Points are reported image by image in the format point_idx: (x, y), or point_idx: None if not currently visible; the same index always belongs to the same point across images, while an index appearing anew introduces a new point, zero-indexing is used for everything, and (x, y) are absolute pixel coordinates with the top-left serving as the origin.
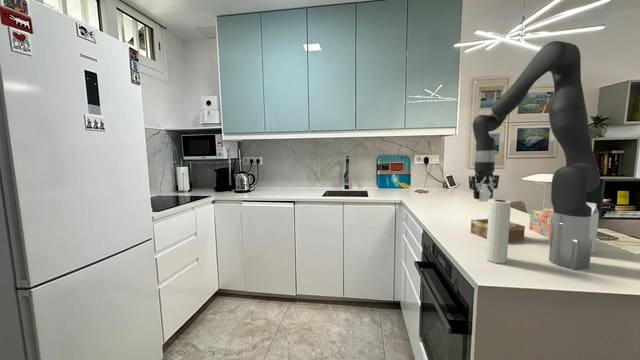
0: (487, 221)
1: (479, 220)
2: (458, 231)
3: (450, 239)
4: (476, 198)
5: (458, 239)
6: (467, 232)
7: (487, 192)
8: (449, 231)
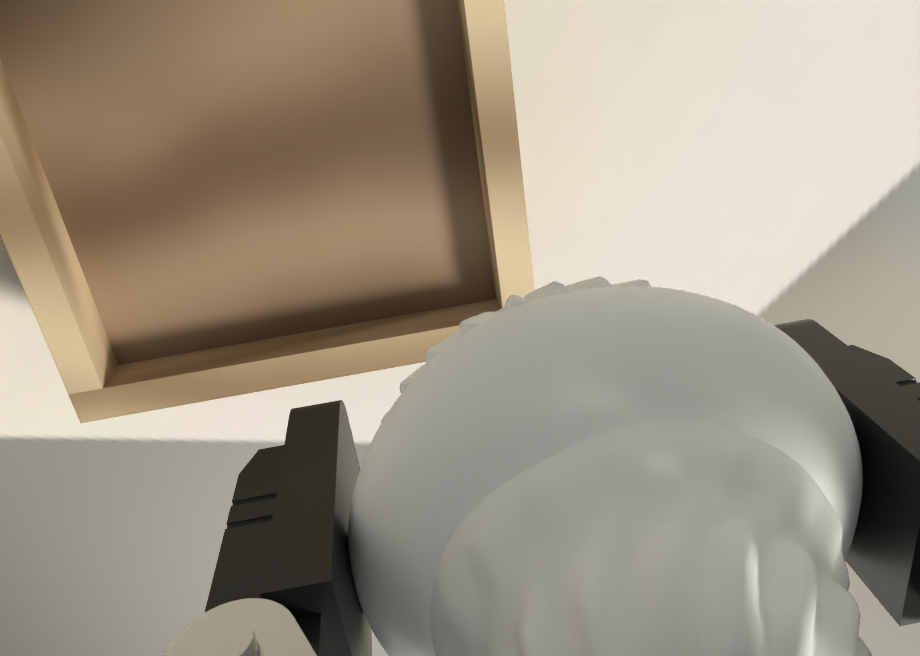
0: (277, 344)
1: (420, 329)
2: None
3: (911, 41)
4: None
5: (822, 32)
6: (537, 282)
7: (652, 352)
8: None
